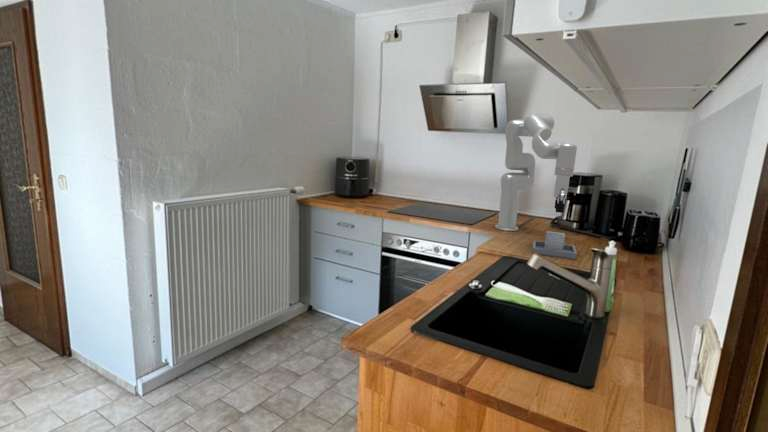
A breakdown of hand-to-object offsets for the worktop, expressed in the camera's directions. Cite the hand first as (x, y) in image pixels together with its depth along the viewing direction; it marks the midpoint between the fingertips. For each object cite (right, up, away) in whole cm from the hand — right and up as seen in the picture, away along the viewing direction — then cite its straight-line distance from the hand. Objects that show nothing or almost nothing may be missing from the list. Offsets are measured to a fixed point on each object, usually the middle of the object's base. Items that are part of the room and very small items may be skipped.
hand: (558, 210), depth 183 cm
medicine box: (-1, -19, +4) cm, 19 cm away
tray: (-1, -19, +4) cm, 20 cm away
